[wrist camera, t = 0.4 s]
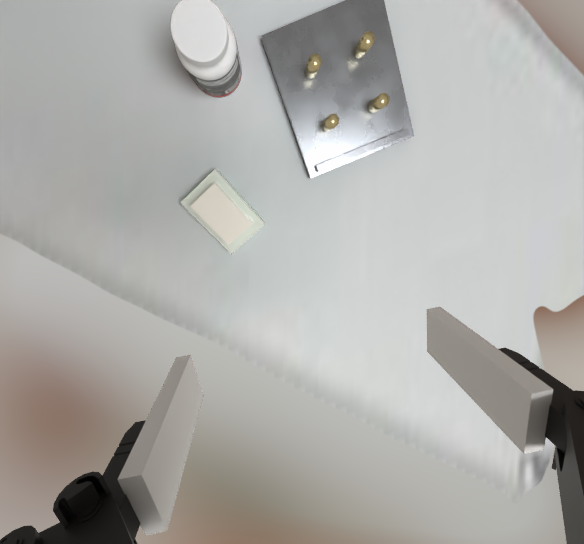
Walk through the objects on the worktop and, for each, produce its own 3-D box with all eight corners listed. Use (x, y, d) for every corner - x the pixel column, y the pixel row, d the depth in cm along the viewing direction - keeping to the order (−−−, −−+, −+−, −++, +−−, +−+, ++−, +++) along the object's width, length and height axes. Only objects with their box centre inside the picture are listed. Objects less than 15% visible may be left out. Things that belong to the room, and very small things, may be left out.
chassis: (261, 41, 33) (261, 21, 29) (376, -8, 33) (392, -34, 29) (309, 178, 38) (314, 177, 34) (409, 137, 38) (426, 132, 34)
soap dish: (183, 201, 38) (175, 203, 34) (216, 169, 37) (212, 168, 34) (232, 251, 40) (230, 257, 37) (265, 222, 39) (265, 226, 36)
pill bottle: (188, 42, 33) (156, -14, 23) (238, 40, 33) (228, -16, 24) (196, 100, 34) (170, 69, 25) (244, 97, 35) (237, 66, 25)
